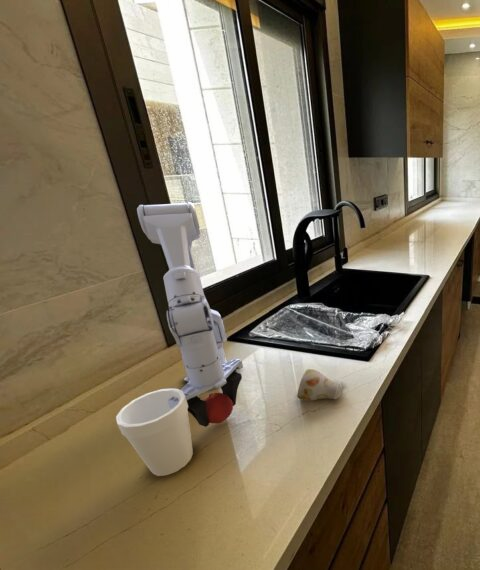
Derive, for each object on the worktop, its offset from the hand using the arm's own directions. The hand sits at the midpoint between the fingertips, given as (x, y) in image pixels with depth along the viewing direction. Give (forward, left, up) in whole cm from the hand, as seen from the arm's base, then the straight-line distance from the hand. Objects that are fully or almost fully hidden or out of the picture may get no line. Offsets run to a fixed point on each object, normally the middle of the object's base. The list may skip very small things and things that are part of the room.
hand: (218, 414), depth 69 cm
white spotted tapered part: (+15, +15, -3) cm, 21 cm away
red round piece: (0, 0, -2) cm, 2 cm away
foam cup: (0, -10, -3) cm, 10 cm away
